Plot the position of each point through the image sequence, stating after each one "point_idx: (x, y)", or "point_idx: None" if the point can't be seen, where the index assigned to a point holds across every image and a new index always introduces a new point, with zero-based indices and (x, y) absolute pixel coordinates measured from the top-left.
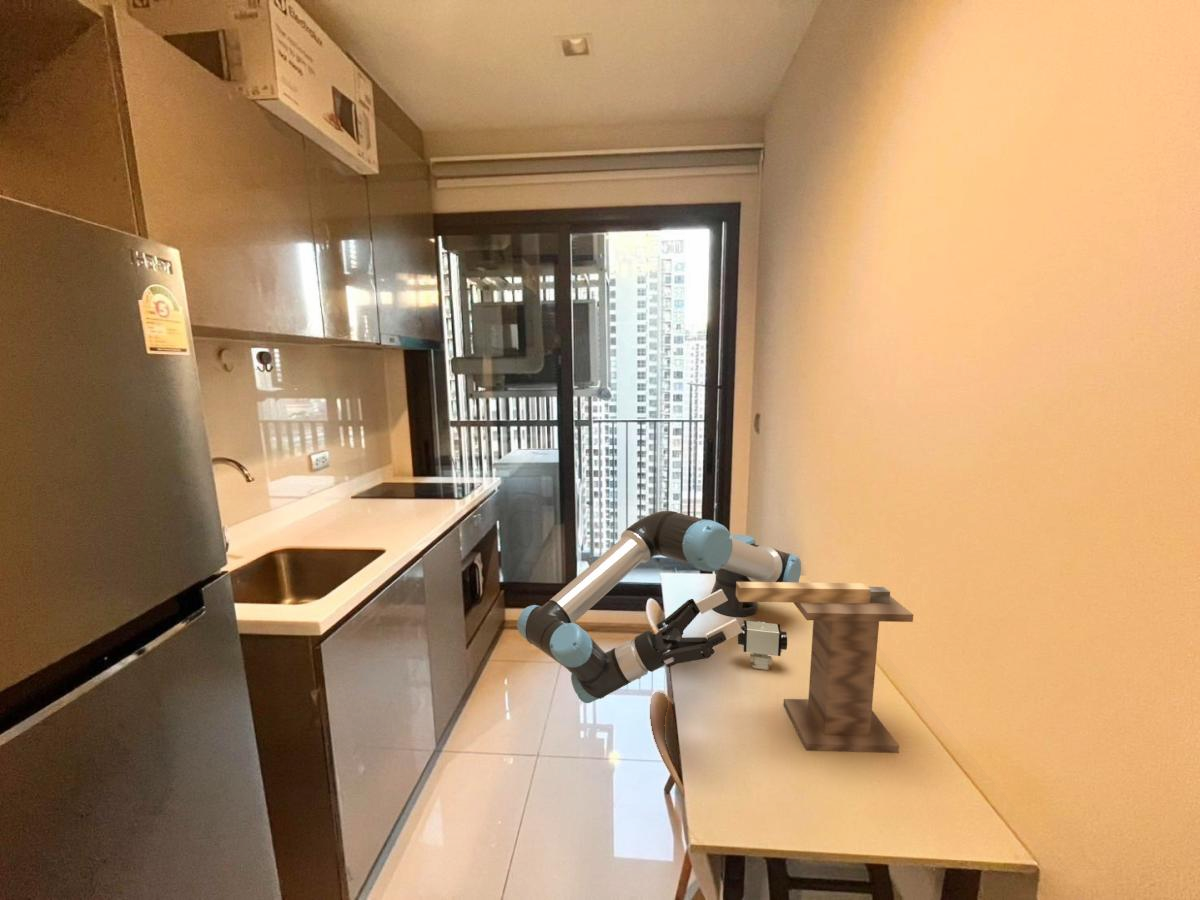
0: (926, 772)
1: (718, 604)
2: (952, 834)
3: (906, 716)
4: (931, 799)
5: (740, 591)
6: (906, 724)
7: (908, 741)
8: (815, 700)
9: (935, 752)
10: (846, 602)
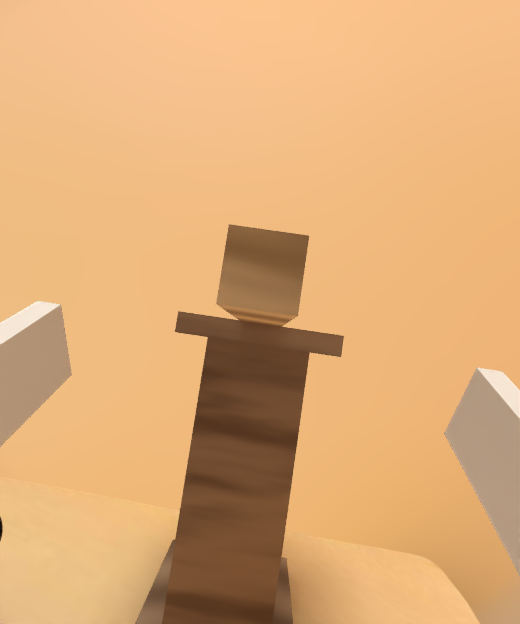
0: (321, 564)
1: (23, 417)
2: (437, 603)
3: None
4: (376, 588)
5: (305, 258)
6: None
7: None
8: (210, 598)
9: None
10: None
